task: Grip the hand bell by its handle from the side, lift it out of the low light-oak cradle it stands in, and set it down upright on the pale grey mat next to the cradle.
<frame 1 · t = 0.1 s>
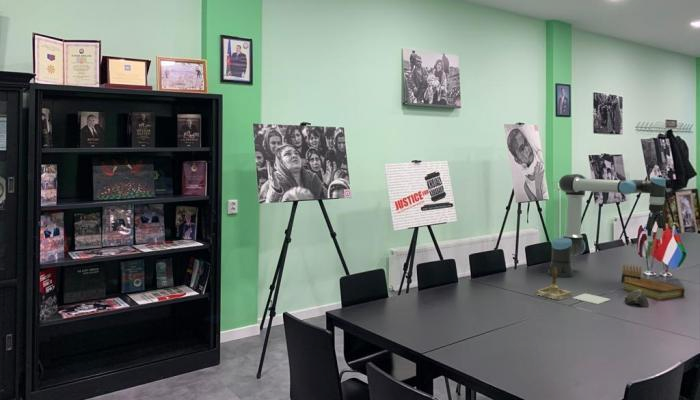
hand: (654, 240, 295), 28 cm above the table, tool pointing down, fingers open, 13 cm apart
diary: (652, 294, 284), on the table
hand bell: (553, 296, 278), resting in bell cradle
bell cradle: (553, 295, 278), on the table
fossil: (634, 304, 264), on the table
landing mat: (591, 299, 271), on the table
ammunition clip: (631, 284, 306), on the table
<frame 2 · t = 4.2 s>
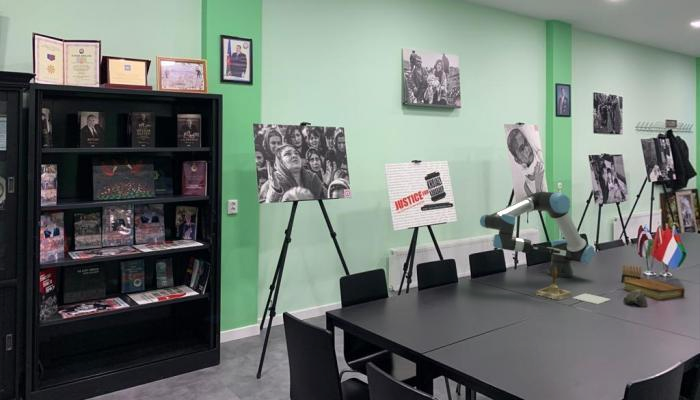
hand: (562, 252, 276), 24 cm above the table, tool horizontal, fingers open, 13 cm apart
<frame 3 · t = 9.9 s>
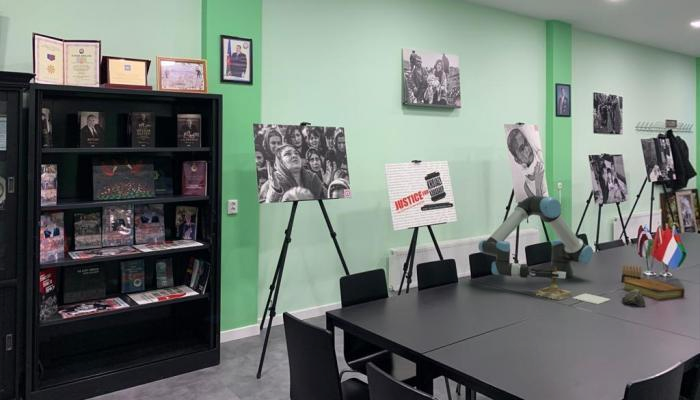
hand: (565, 275, 274), 12 cm above the table, tool horizontal, fingers closed on hand bell, 3 cm apart
hand bell: (553, 296, 278), resting in bell cradle, touching gripper
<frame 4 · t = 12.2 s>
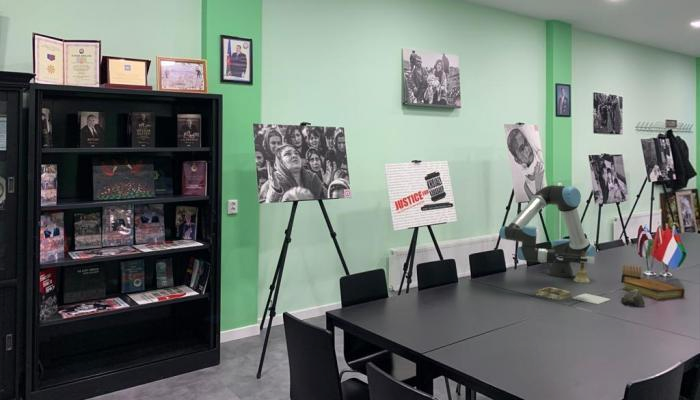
hand: (594, 260, 268), 22 cm above the table, tool horizontal, fingers closed on hand bell, 3 cm apart
hand bell: (581, 281, 271), point 10 cm above the table, touching gripper
when the fingers open (14 cm above the table, at t = 14.6 s): hand bell drops 2 cm, resting on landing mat.
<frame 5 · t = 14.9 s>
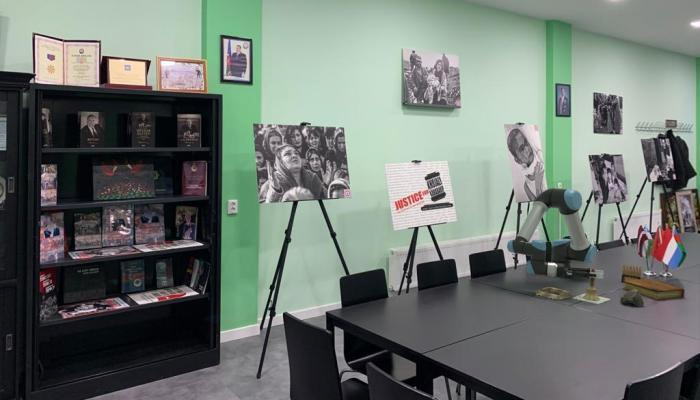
hand: (603, 274, 268), 14 cm above the table, tool horizontal, fingers open, 6 cm apart
hand bell: (591, 298, 271), resting on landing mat
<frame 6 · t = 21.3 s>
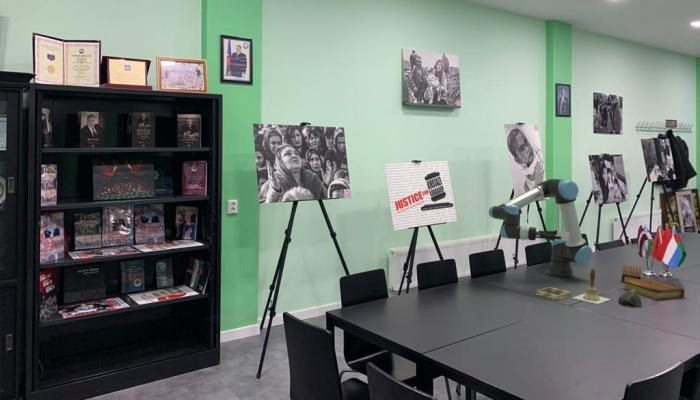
hand: (568, 236, 281), 32 cm above the table, tool horizontal, fingers open, 13 cm apart
at the end: hand bell inside the target area on the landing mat (0.2 cm from its centre), point 0.3 cm above the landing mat's base; hand bell tilted 0°; the gripper is holding nothing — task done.
